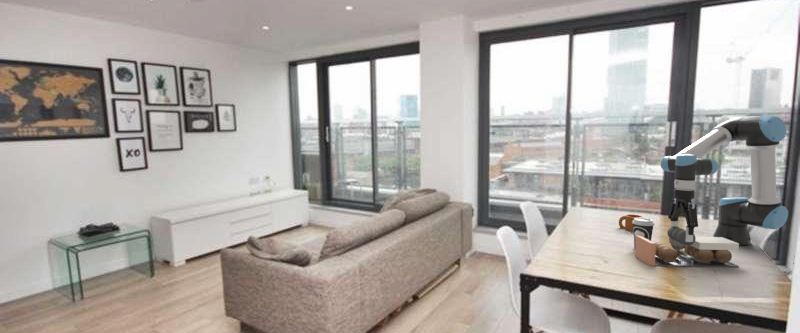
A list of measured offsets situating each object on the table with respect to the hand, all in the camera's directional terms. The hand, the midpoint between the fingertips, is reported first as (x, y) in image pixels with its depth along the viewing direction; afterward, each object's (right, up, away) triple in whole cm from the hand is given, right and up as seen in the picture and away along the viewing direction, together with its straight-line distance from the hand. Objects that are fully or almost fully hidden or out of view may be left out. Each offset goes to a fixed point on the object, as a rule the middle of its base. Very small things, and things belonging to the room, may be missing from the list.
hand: (681, 238), depth 177 cm
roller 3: (+8, -6, 0) cm, 10 cm away
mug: (+9, -6, +55) cm, 56 cm away
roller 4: (+15, -6, -1) cm, 16 cm away
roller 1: (-7, -7, +1) cm, 10 cm away
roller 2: (0, -2, 0) cm, 2 cm away
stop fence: (-15, -11, +2) cm, 19 cm away
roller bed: (+3, -11, +1) cm, 11 cm away
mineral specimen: (+9, -9, +15) cm, 20 cm away
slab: (+13, -4, -1) cm, 13 cm away
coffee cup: (-6, -9, +20) cm, 22 cm away
